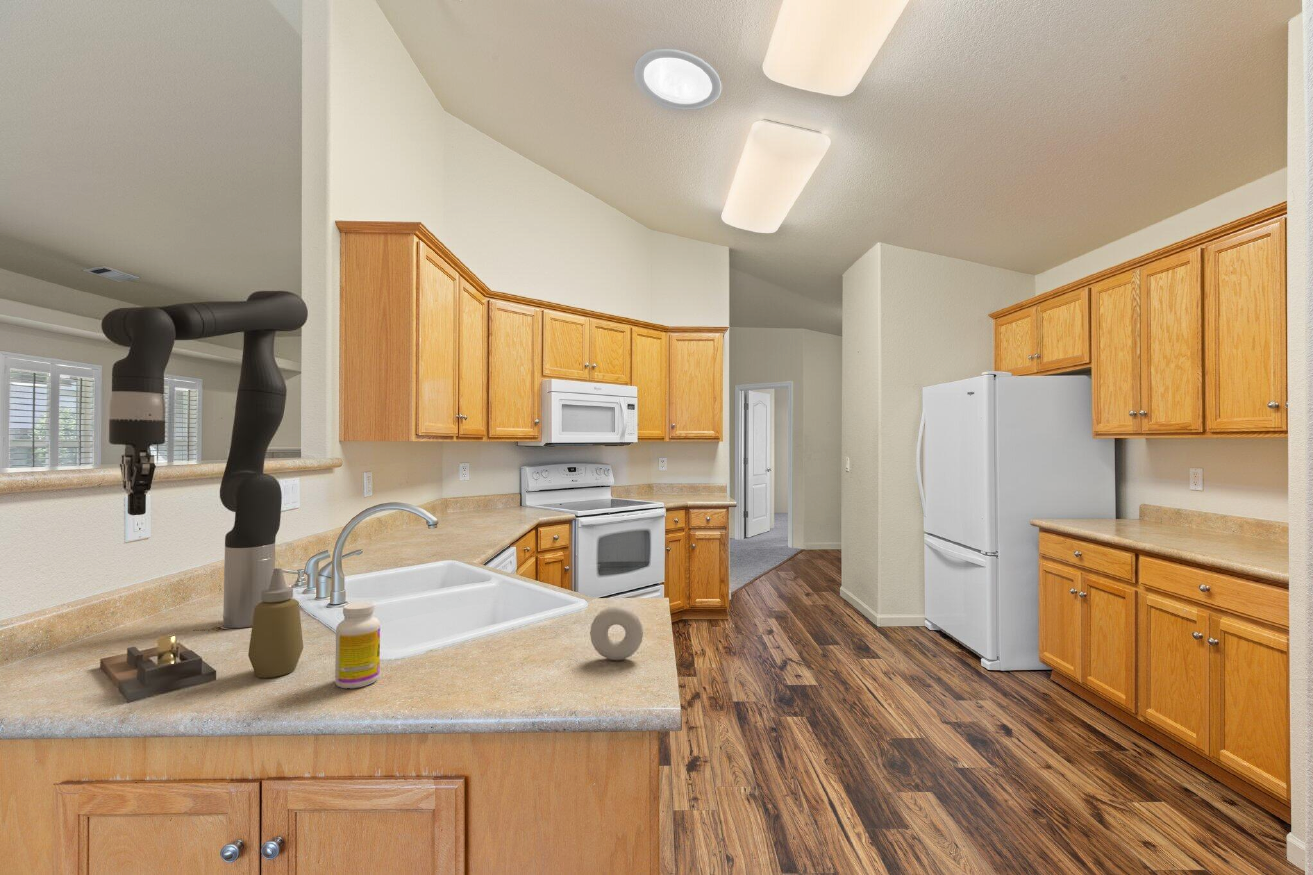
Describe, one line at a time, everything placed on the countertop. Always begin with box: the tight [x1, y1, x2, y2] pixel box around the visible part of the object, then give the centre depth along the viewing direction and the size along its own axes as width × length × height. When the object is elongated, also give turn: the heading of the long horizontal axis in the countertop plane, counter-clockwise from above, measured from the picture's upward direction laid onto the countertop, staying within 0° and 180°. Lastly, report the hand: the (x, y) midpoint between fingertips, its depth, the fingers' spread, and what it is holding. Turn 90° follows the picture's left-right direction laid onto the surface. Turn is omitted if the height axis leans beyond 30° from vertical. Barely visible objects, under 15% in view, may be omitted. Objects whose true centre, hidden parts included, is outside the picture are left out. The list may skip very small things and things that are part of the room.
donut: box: [589, 605, 644, 661], centre depth 108 cm, size 10×4×10 cm, turn 90°
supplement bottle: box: [334, 601, 381, 689], centre depth 97 cm, size 7×7×13 cm
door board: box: [99, 642, 217, 703], centre depth 99 cm, size 11×22×4 cm, turn 52°
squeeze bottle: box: [247, 567, 304, 679], centre depth 100 cm, size 8×8×18 cm
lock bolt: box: [149, 633, 181, 667], centre depth 95 cm, size 3×8×6 cm, turn 52°
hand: (136, 514), depth 103 cm, fingers closed
